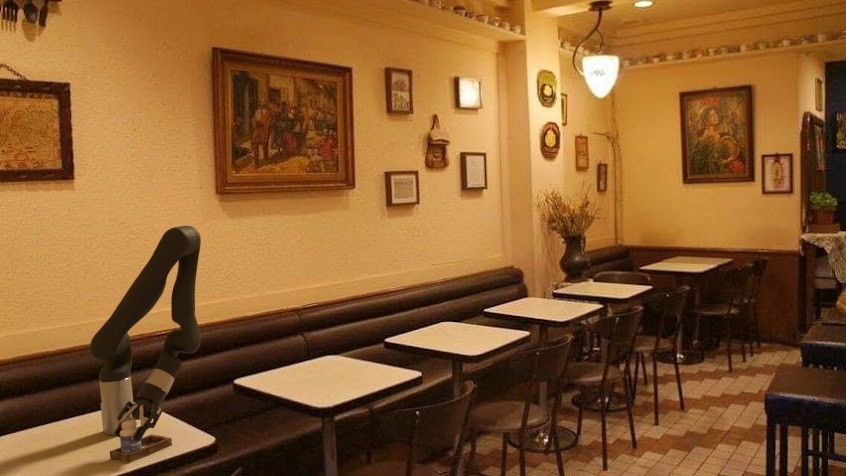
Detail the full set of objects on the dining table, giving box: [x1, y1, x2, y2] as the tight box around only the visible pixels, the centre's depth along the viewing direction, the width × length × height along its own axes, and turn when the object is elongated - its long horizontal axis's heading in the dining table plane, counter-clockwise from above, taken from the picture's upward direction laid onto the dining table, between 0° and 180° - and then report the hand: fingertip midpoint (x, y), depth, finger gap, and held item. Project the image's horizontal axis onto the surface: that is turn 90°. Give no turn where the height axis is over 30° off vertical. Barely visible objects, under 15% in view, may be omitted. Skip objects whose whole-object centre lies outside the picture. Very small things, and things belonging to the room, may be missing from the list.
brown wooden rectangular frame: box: [109, 433, 173, 464], centre depth 205 cm, size 9×15×2 cm, turn 149°
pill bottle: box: [119, 420, 143, 454], centre depth 202 cm, size 5×5×10 cm
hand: (126, 438), depth 200 cm, fingers open, 8 cm apart
